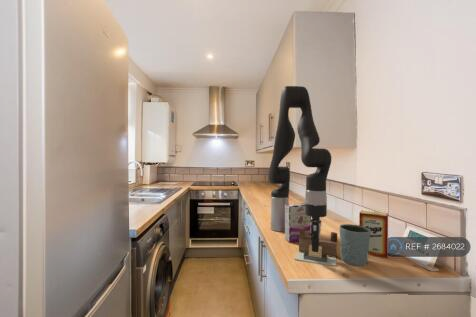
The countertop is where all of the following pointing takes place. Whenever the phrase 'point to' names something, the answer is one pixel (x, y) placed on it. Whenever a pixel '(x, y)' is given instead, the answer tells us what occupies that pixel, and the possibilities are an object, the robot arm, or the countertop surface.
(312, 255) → the lever cap
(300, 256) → the mat
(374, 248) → the baking soda box
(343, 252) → the teal cup
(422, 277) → the countertop surface
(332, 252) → the body
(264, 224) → the countertop surface
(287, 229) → the candy bar box
